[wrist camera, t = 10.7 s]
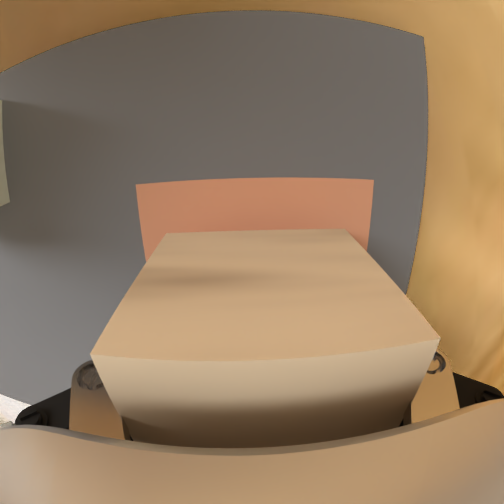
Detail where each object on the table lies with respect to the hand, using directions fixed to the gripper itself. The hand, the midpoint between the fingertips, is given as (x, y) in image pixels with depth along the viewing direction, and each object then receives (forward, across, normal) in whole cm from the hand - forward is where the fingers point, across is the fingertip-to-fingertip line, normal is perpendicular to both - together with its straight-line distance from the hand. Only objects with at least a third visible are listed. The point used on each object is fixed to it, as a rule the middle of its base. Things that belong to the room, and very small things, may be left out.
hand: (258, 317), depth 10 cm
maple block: (+1, 0, 0) cm, 1 cm away
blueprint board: (+3, +8, 0) cm, 8 cm away
